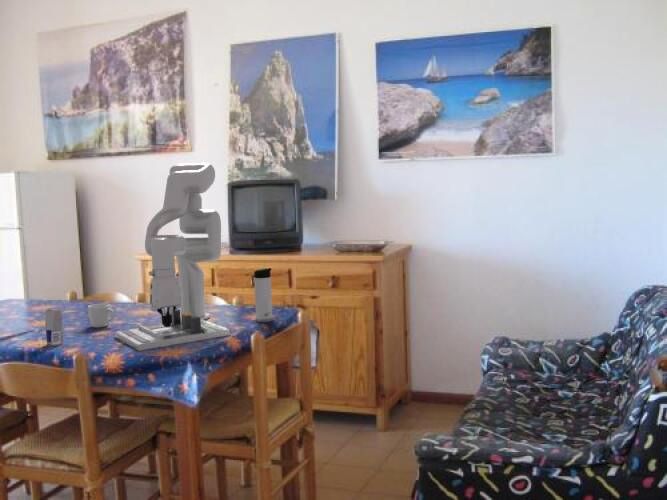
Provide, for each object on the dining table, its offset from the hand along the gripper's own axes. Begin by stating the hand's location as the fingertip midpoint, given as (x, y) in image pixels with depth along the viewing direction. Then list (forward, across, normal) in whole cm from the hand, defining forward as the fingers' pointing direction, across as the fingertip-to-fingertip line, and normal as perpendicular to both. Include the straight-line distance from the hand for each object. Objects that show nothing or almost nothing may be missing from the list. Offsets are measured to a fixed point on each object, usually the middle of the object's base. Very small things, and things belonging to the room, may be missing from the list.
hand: (167, 326), depth 234 cm
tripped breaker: (+2, +7, 0) cm, 7 cm away
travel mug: (+4, +39, +1) cm, 39 cm away
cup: (+4, -12, +34) cm, 36 cm away
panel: (+4, +2, 0) cm, 4 cm away
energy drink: (+4, -33, +16) cm, 37 cm away
